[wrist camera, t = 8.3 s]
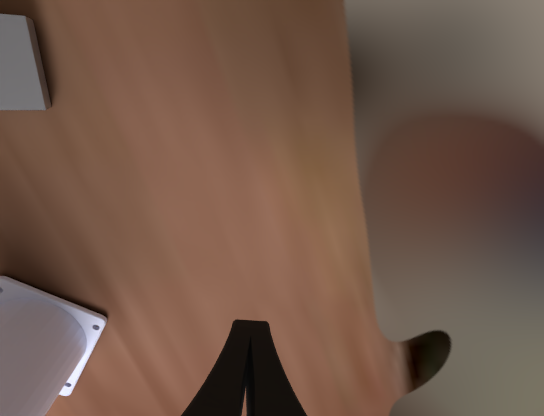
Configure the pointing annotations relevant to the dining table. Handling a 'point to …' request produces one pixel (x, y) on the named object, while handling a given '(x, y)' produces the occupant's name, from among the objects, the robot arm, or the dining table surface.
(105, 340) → the dining table surface
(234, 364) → the robot arm
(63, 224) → the dining table surface
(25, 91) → the domino
